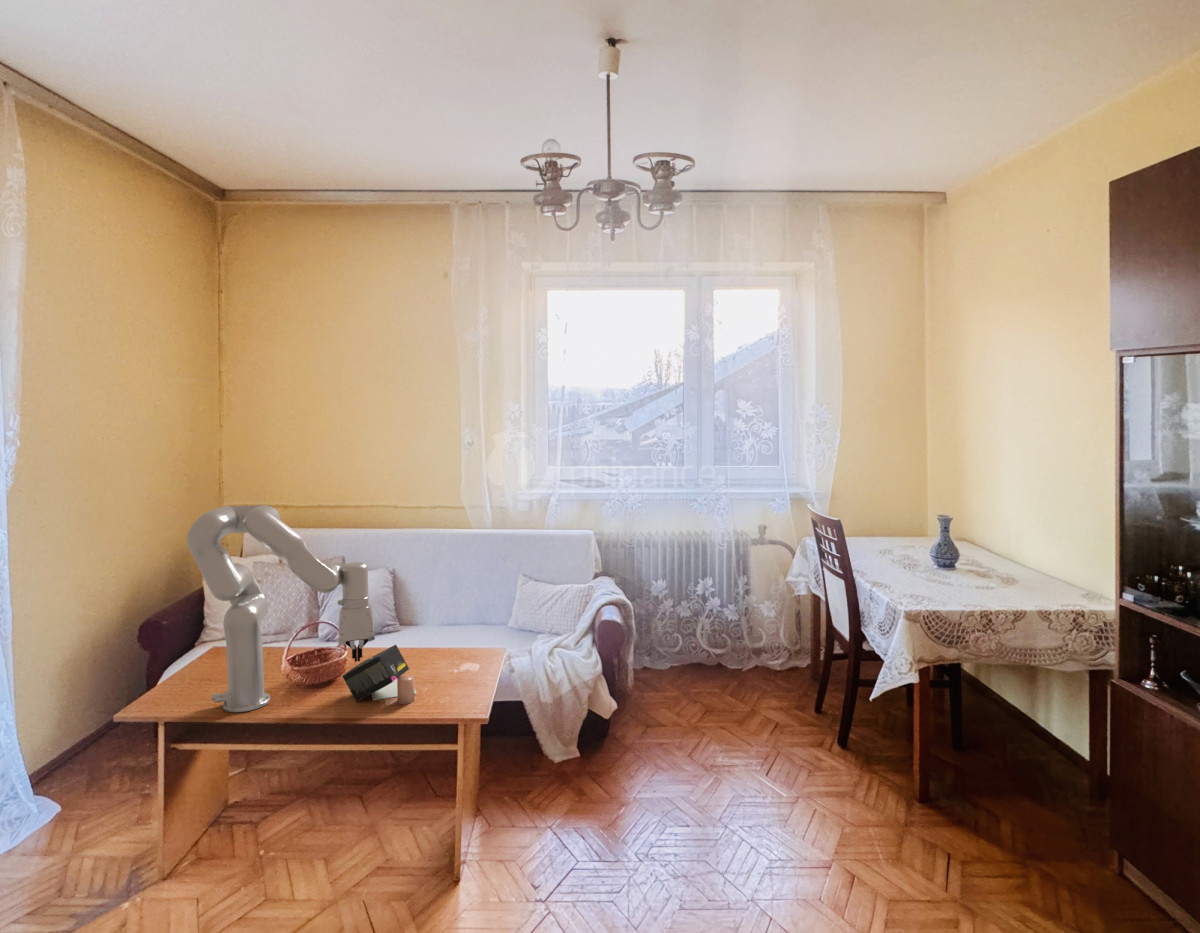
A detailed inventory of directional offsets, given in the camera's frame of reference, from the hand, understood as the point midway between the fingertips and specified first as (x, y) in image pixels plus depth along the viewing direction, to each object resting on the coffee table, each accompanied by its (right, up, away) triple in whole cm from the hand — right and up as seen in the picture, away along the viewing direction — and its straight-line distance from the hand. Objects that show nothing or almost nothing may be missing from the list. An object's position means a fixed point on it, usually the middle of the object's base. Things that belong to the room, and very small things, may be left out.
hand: (357, 660), depth 206 cm
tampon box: (0, -7, -1) cm, 7 cm away
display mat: (+10, -10, +5) cm, 15 cm away
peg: (+17, -11, -5) cm, 21 cm away
